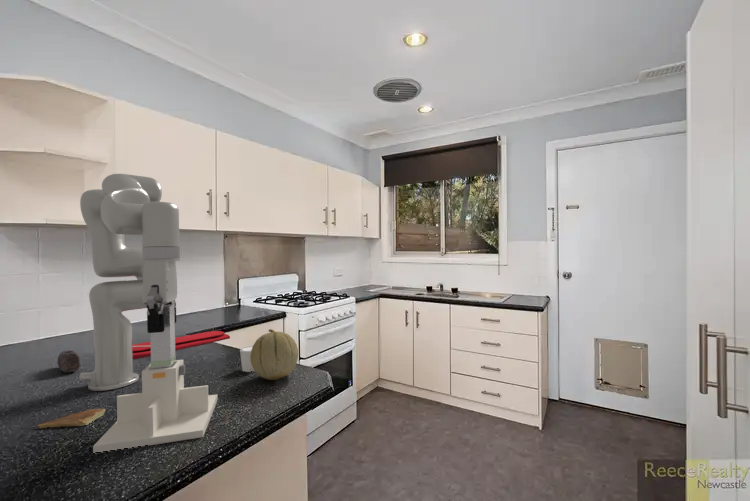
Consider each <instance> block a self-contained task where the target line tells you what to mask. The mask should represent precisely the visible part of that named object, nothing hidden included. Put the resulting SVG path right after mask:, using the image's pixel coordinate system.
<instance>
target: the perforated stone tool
mask: <svg viewBox="0 0 750 501" xmlns="http://www.w3.org/2000/svg"><path fill="white" fill-rule="evenodd" d="M56 363H57V366H58V369H60V371H61V372H63V373H66V374H69V373H73V372H76V371H78V370H79V369H80V367H81V358H80V355H79V354H78V353H77V352H76V351H74V350H64V351H61V352H60V353H59V355H58V357H57V362H56Z"/></svg>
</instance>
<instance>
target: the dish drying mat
mask: <svg viewBox="0 0 750 501" xmlns="http://www.w3.org/2000/svg"><path fill="white" fill-rule="evenodd" d="M229 339H231V336H230V334H226V332H224V331H221V330H211V331H205V332H199V333H195V334H189V335H182V336H179V337H175V351H180V350H184V349H187V348H193V347H194V348H195V347H197V346H202V345H208V344H210V343H217V342H220V341H224V340H229ZM132 354H133V360H137V359H142V358H146V357H151V341H147V342H141V343H135V344H132Z"/></svg>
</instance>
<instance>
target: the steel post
mask: <svg viewBox="0 0 750 501" xmlns="http://www.w3.org/2000/svg"><path fill="white" fill-rule="evenodd" d="M158 307H159V305H158ZM162 314H164V327H165V330H164V331H163V332H157V333H149V334H150V338H149V339H150V342H151V356H150V364H151V369H160V368H170V367H173V366H174V365H175V364H176V363H175V360H177V359H176V350H175V338H176V328H175V327H176V323H175V312H174V304H168V305H164V308H163V312H162Z"/></svg>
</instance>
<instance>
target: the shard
mask: <svg viewBox="0 0 750 501" xmlns="http://www.w3.org/2000/svg"><path fill="white" fill-rule="evenodd" d="M105 412H106V409H105V408H97V409H95V408H93V409H92V408H91V409H86V410H85V409H84V410H82V411H78V412H75V413H70V414H67V415H63V416H60V417H57V418H54V419H51V420H47V421H45V422H40V423H36V426H38V427H39V429H47V427H50V428H62V427H85V426H84V425H87V426H88V425H89V423H90V424H92V423H93V422H94V421H95V420H97V419H100V417H102V416H104V414H105ZM92 421H93V422H92ZM61 426H62V427H61Z"/></svg>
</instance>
